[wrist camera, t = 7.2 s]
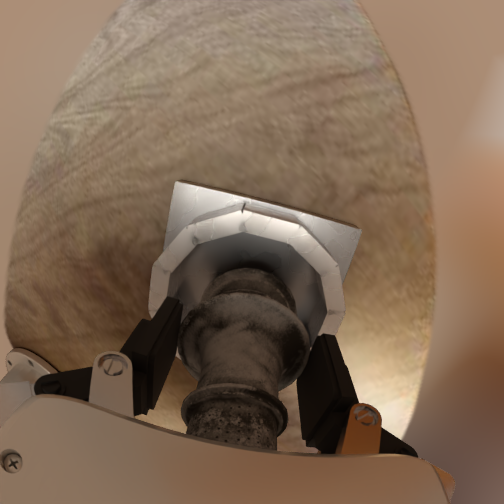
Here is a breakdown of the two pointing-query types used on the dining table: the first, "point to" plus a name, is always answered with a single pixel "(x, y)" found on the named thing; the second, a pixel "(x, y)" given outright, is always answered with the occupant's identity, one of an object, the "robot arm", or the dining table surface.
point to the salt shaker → (242, 358)
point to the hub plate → (253, 252)
